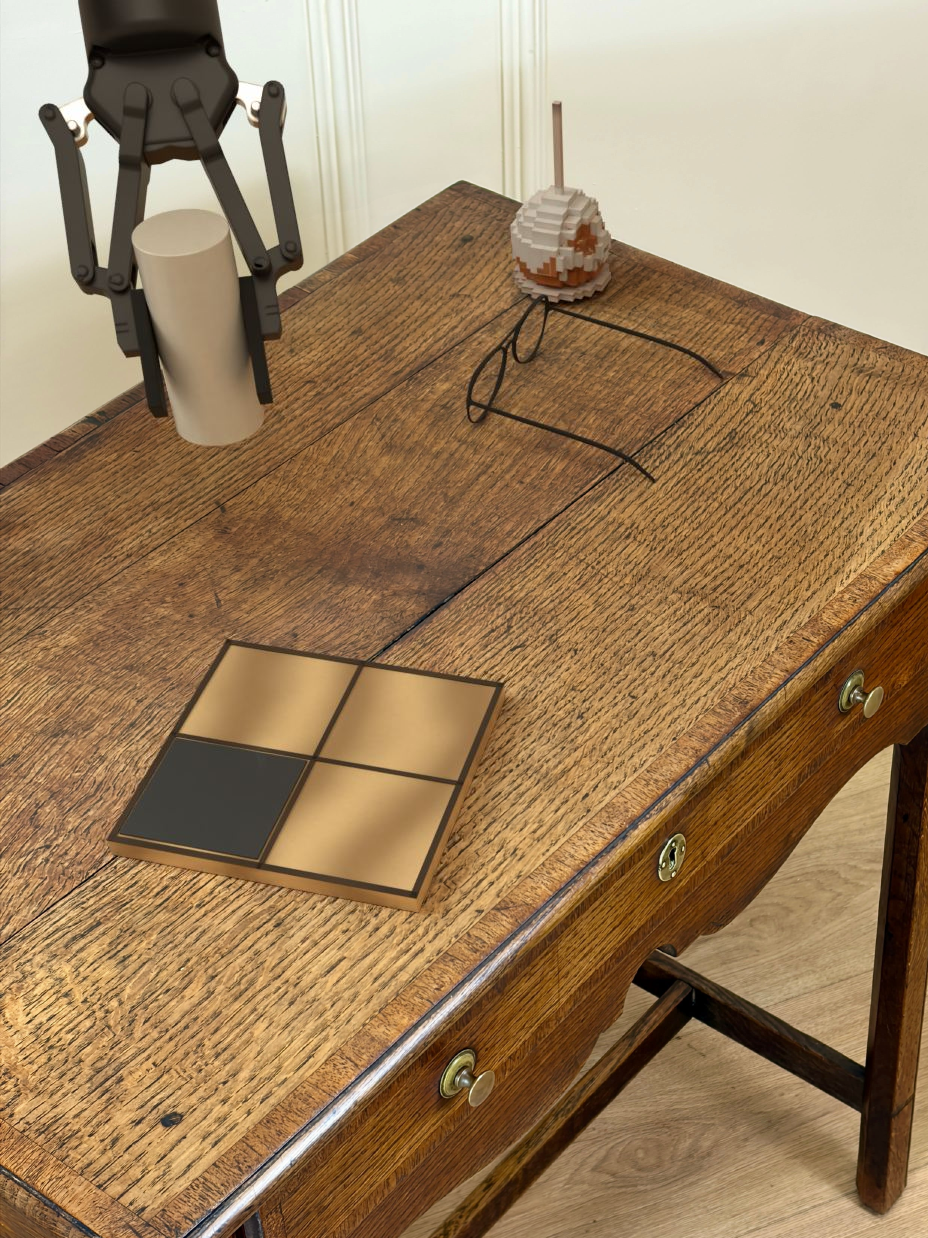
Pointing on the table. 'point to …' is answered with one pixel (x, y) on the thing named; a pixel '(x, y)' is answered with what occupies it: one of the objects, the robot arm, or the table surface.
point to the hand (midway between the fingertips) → (212, 404)
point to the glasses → (514, 341)
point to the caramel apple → (560, 237)
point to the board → (313, 774)
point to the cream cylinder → (199, 324)
